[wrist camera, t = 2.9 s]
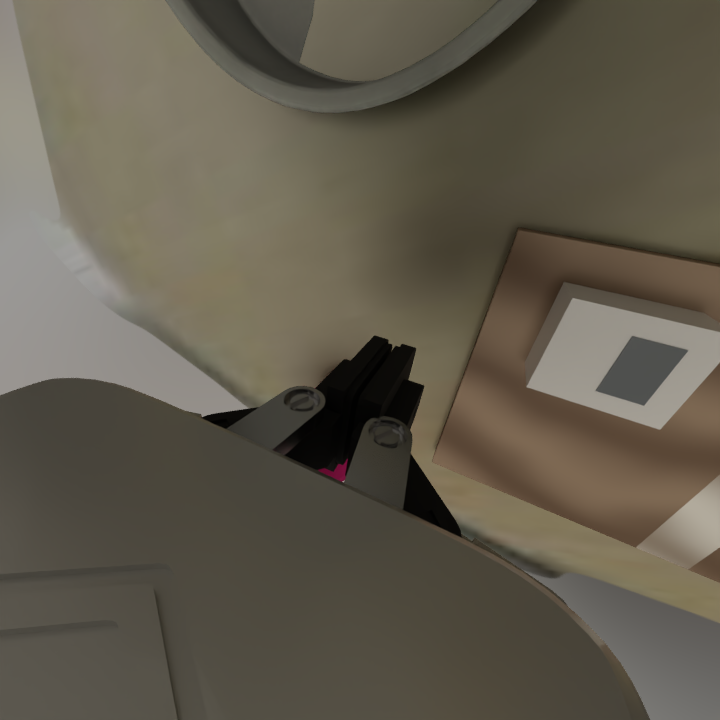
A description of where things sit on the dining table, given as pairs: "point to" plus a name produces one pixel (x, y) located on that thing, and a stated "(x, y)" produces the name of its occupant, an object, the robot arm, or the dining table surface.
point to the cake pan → (286, 41)
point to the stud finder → (622, 354)
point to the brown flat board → (591, 409)
